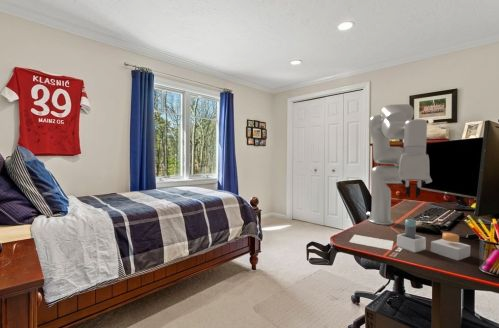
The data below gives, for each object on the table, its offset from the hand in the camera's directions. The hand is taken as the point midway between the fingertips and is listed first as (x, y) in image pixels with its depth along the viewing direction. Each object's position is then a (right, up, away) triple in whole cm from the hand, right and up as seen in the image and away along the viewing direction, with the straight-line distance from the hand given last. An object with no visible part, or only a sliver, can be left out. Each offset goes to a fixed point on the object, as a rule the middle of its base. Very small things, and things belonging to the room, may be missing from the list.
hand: (412, 196), depth 102 cm
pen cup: (0, -21, +1) cm, 21 cm away
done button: (+12, -16, -5) cm, 20 cm away
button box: (+12, -21, -4) cm, 25 cm away
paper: (-13, -21, +8) cm, 26 cm away
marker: (0, -21, +1) cm, 21 cm away
